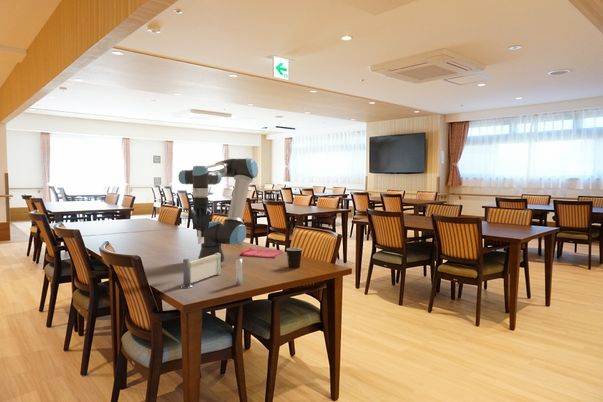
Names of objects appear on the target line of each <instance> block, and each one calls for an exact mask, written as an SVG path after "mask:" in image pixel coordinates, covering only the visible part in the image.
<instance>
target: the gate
mask: <svg viewBox="0 0 603 402" xmlns="http://www.w3.org/2000/svg"><path fill="white" fill-rule="evenodd" d="M220 256H221V254H220V253H215V254H214V255H211V256H207V257H204V258H200V259H198V258H197V259H194V260H191V259H189V258H183V259H182V264H183V265H182V269H183V270H182V271H183V272H182V273H183V275H182V276H183V284H184V285H185V286H187V285H190V284H193V283H196V282H198V281H201V280H205V279H206V278H209V277H212V276H215V275H221V274H222V269H221V259H220ZM190 260H191V261H190Z"/></svg>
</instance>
